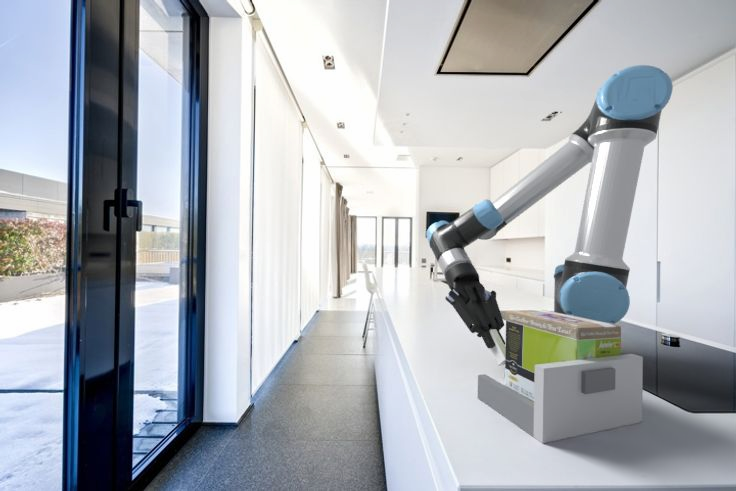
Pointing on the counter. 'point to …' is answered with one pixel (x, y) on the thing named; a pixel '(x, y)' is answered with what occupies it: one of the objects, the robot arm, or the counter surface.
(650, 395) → the counter surface
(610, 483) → the counter surface
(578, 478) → the counter surface
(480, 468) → the counter surface
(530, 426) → the grey drawer
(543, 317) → the tea box
